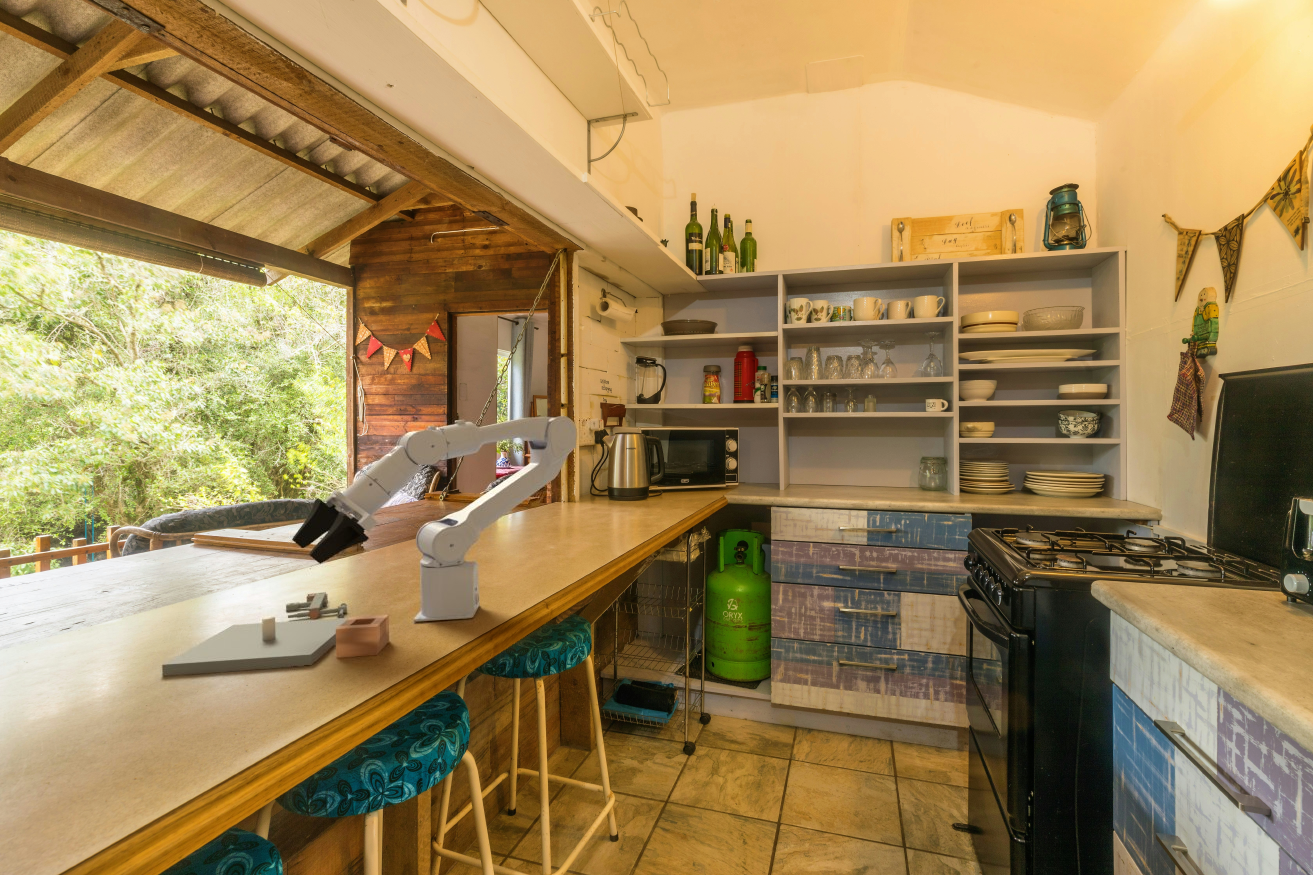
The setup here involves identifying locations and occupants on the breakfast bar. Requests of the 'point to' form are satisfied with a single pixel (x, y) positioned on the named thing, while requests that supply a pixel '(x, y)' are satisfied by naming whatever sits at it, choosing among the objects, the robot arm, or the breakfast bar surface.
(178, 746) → the breakfast bar surface
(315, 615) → the clamp
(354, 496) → the robot arm
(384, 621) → the collar block
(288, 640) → the pin board
